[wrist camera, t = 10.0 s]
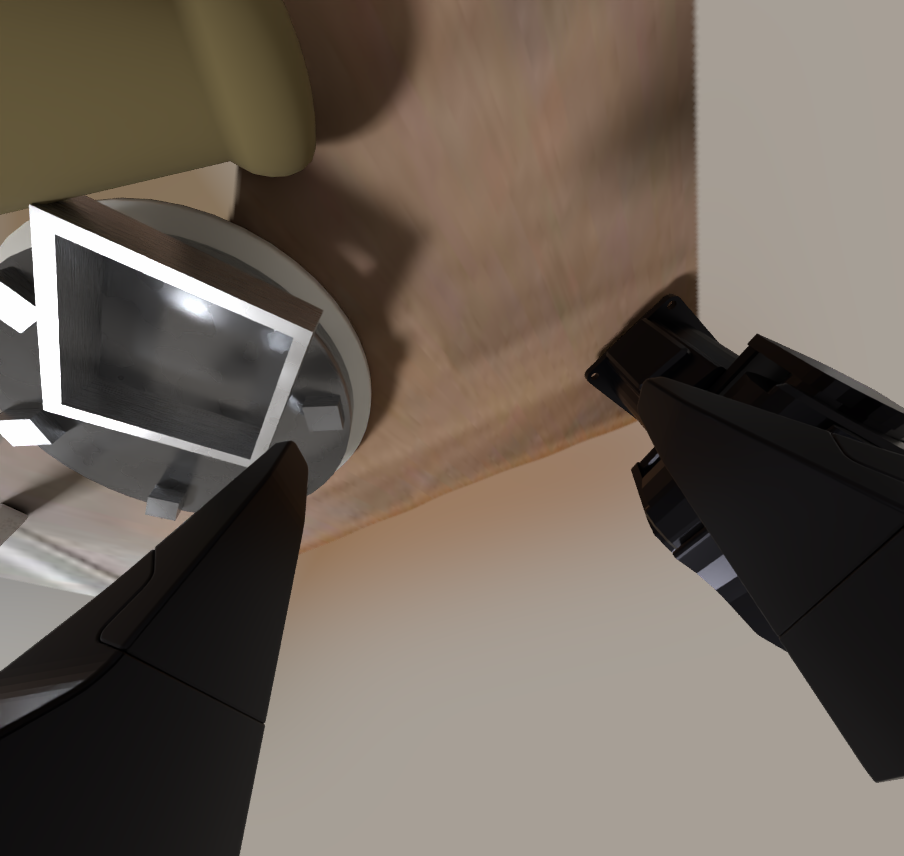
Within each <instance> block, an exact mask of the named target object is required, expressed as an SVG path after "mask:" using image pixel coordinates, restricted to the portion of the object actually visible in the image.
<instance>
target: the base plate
mask: <svg viewBox="0 0 904 856" xmlns="http://www.w3.org/2000/svg"><path fill="white" fill-rule="evenodd" d="M96 201H98V202H100V203H102V204H104V205H106V206H108V207H110V208H112V209H114V210H116V211H119V212H121V213H123V214H125V215H127V216H129V217H131V218H133V219H135V220H137V221H139V222H141V223H143V224H146V225H148V226H150V227H152V228H154V229H156V230H158V231H160V232H162V233H165V234H170V235H175V236H180V237H183V238H186V239H189V240H192V241H196V242H199V243H202V244H205V245H208V246H210V247H213V248H215V249H217V250H220V251H222V252H224V253H227V254H229V255H231V256H234V257H236V258H237V259H239V260H241V261H243V262H245V263H246V264H248V265H250V266H252V267H254V268H255V269H257V270H259V271H261V272H262V273H263V274H265V275H266V276H268V277H269V278H271V279H272V280H274V281H275V282H276V283H278V284H279V285H281V286H282V287H283V288H284V289H286V290H287V291H288V292H289V293H290V294H291V295H293V296H295V297H297V298H299V299H302V300H304V301H306V302H308V303H310V304H312V305H314V306H316V307H318V308H320V309H322V310H324V311H323V313H322V316H321V318H320V321H319V323H320V324H321V325H322V327H323V328H324V329H325V331H326V332H327V333H328V335H329V336H330V337H331V339H332V341H333V342H334V344H335V346H336V347H337V349H338V351H339V353H340V354H341V356H342V359H343V361H344V363H345V366H346V368H347V371H348V374H349V377H350V381H351V385H352V390H353V400H354V410H353V420H352V426H351V431H350V436H349V441H348V445H347V449H346V452H345V455H344V457H343V459H342V461H341V463H340V465H339V466H338V468H337V469H336V470H338V469H339V468H340V467H341V466H342V465H344V464H345V462H346V461H347V460H348V459H349V458H350V457H351V456H352V455H353V453H354V452H355V450H356V449H357V447H358V445H359V444H360V442H361V440H362V438H363V435H364V433H365V431H366V428H367V424H368V419H369V415H370V408H371V394H372V388H371V377H370V371H369V367H368V363H367V358H366V355H365V352H364V350H363V347H362V345H361V342H360V340H359V337H358V336H357V334H356V332H355V330H354V328H353V326H352V325H351V323H350V321H349V319H348V318H347V316H346V315H345V313H344V312H343V311H342V309H341V308H340V307H339V305H338V304H337V302H336V301H335V300H334V298H333V297H332V296H331V295H330V294H329V293H328V292H327V291H326V290H325V288H324V287H323V286H322V285H321V284H320V283H319V282H318V281H317V280H316V279H315V278H314V277H313V276H312V275H311V274H310V273H309V272H307V271H306V270H305V269H304V268H303V267H302V266H301V265H300V264H298V263H297V262H296V261H295V260H294V259H292V258H291V257H289V256H288V255H287V254H285V253H284V252H282V251H281V250H280V249H278V248H277V247H275V246H274V245H273V244H271V243H270V242H268V241H266V240H264V239H263V238H261V237H259V236H257V235H255V234H254V233H252V232H250V231H248V230H247V229H245V228H243V227H241V226H238V225H236V224H234V223H232V222H229V221H227V220H225V219H222V218H220V217H218V216H216V215H213V214H210V213H206V212H203V211H200V210H197V209H193V208H190V207H187V206H184V205H179V204H173V203H168V202H163V201H157V200H152V199H134V198H114V199H103V200H96ZM30 247H32V240H31V226H30V220H29V221H27V222H25V223H24V224H23V225H22V226H20V227H19V228H18V229H17V230H16V231H14V232H13V233H12V234H11V235H9V236H8V237H7V238H6V240H5V241H4V242H3V244H2V245H1V247H0V263H1V262H3V261H4V260H5V259H7V258H8V257H10V256H12V255H14V254H17V253H19V252H21V251H23V250H26V249H28V248H30Z"/></svg>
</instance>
